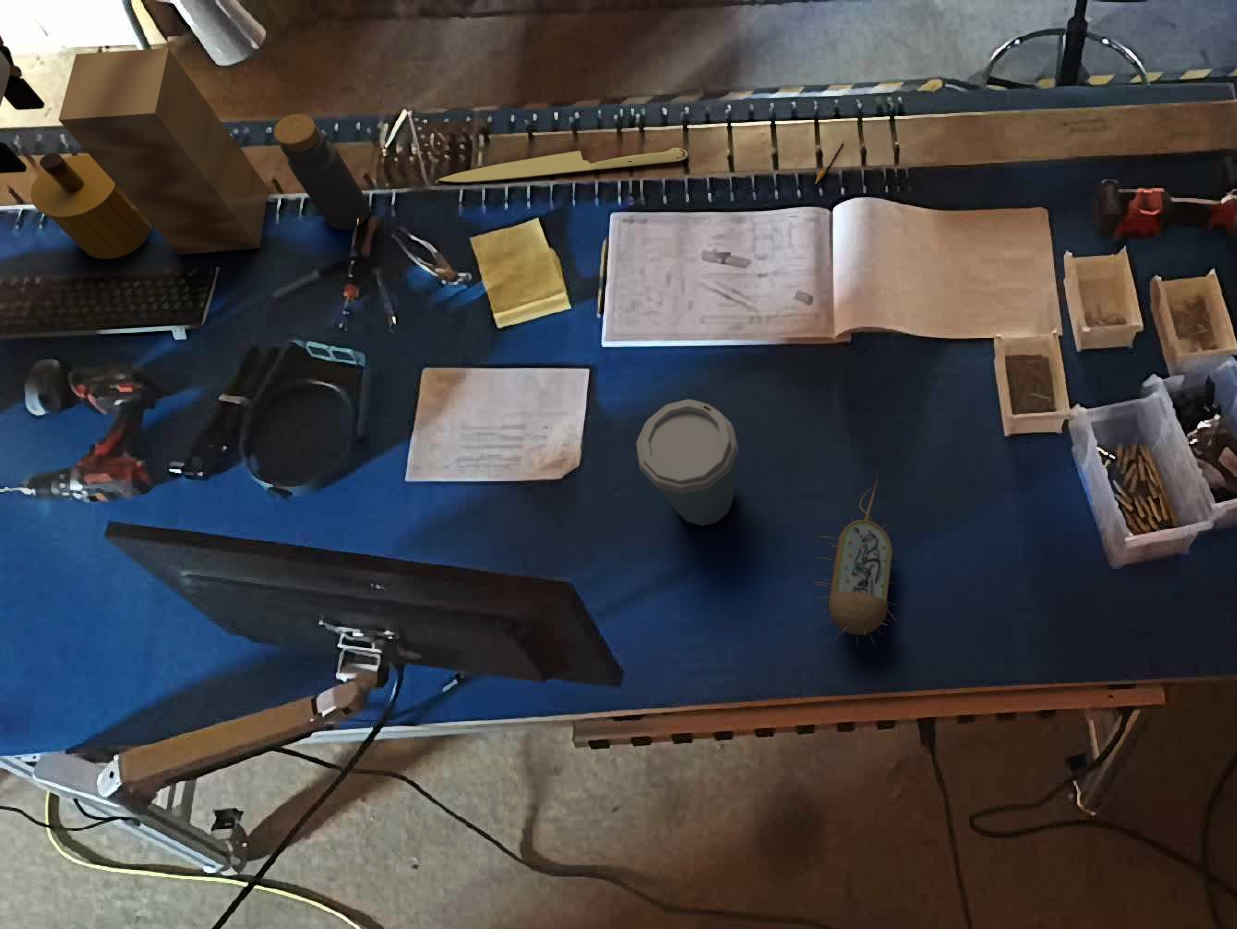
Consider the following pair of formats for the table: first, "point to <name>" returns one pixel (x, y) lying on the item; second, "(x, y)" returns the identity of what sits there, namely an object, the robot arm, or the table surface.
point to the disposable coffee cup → (690, 459)
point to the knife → (560, 166)
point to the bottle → (321, 172)
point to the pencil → (820, 176)
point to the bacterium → (860, 576)
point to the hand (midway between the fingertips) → (22, 138)
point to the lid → (71, 186)
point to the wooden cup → (108, 228)
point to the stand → (165, 149)
